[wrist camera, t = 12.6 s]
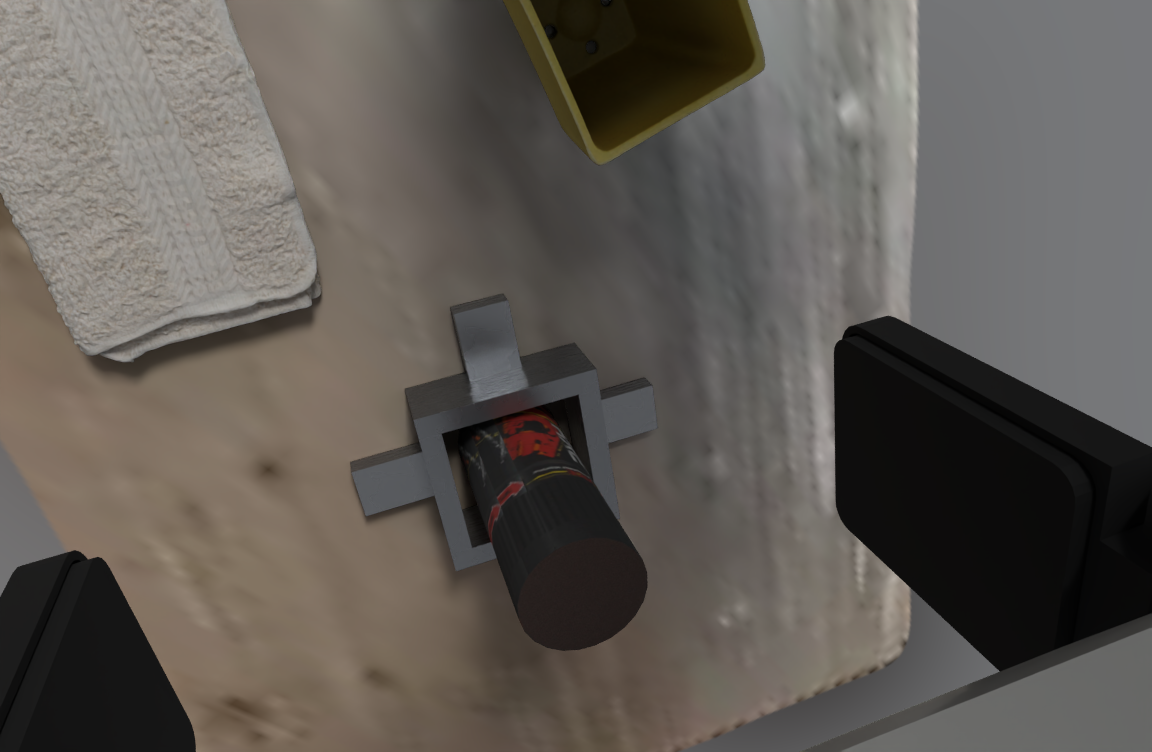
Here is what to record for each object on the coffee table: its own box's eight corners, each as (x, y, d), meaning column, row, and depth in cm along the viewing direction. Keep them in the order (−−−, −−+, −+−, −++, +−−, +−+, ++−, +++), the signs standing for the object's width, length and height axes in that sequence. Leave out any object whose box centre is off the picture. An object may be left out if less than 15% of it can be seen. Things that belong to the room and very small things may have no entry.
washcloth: (102, 359, 40) (87, 383, 37) (-114, -39, 32) (-152, -44, 29) (338, 288, 42) (340, 306, 39) (192, -102, 34) (183, -113, 31)
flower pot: (685, 59, 42) (772, 69, 35) (542, 141, 42) (597, 170, 34) (618, -118, 38) (700, -154, 30) (458, -30, 38) (500, -42, 30)
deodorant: (438, 459, 47) (491, 629, 34) (491, 376, 46) (566, 518, 33) (521, 495, 50) (599, 664, 37) (573, 416, 49) (672, 563, 36)
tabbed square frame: (310, 342, 42) (311, 371, 39) (629, 261, 46) (656, 281, 42) (396, 602, 50) (404, 646, 47) (662, 516, 54) (687, 550, 50)
